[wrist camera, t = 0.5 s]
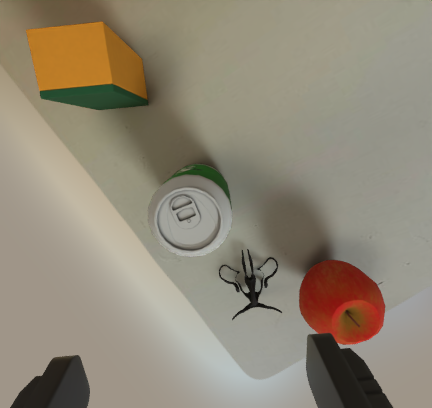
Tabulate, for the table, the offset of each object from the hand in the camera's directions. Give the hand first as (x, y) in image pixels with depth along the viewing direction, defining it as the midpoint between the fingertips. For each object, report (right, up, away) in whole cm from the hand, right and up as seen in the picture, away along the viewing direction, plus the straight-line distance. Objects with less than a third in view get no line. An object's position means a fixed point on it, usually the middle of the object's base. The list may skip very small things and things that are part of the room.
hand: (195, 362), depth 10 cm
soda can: (-1, +7, +26) cm, 27 cm away
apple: (+15, -4, +28) cm, 32 cm away
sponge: (-10, +20, +23) cm, 32 cm away
